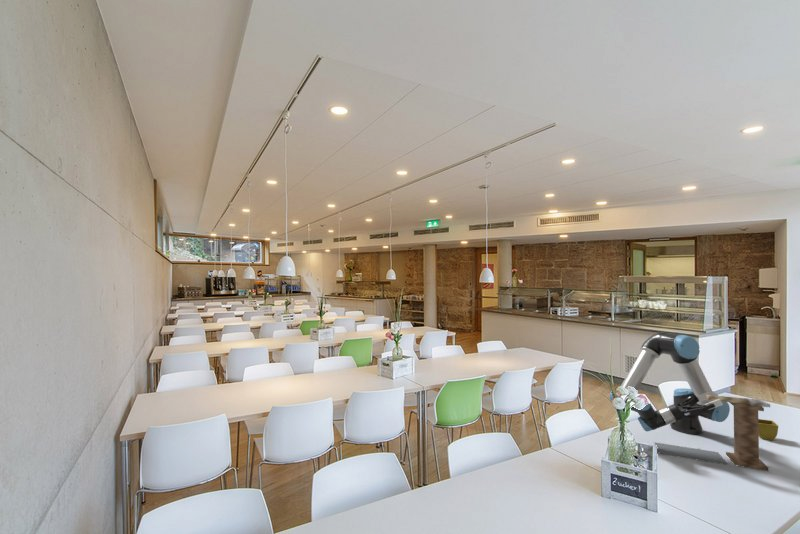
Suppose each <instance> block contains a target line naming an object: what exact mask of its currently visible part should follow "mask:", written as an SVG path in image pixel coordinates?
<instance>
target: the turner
mask: <svg viewBox="0 0 800 534" xmlns="http://www.w3.org/2000/svg"><path fill="white" fill-rule="evenodd" d="M706 399H707V400H712V401H715V400H718V399H720V401H722V402H727V403H729V402H733V403H743V404H750V405H751V406H761V407H763V408H771V403H769V402H767V401H765V400H763V399H758V398H748V397H735V396H724V395H721V396H720V395H718V396H714V395H706Z"/></svg>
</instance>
